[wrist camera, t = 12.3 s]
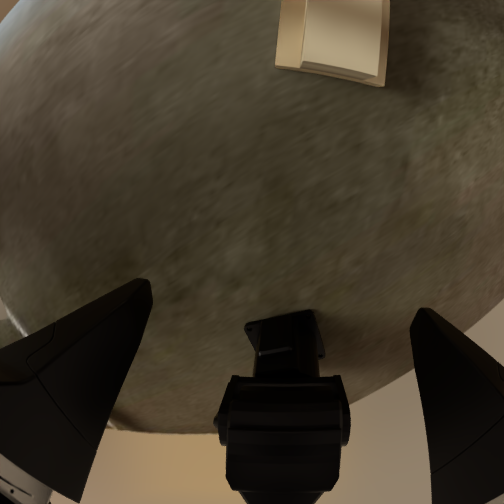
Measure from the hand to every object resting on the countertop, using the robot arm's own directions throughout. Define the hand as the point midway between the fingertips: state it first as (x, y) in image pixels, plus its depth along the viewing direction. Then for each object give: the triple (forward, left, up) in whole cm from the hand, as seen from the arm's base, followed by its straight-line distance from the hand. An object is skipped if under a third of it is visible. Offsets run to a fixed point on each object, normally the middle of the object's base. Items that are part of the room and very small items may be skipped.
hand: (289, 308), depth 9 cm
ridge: (+16, -10, -13) cm, 23 cm away
